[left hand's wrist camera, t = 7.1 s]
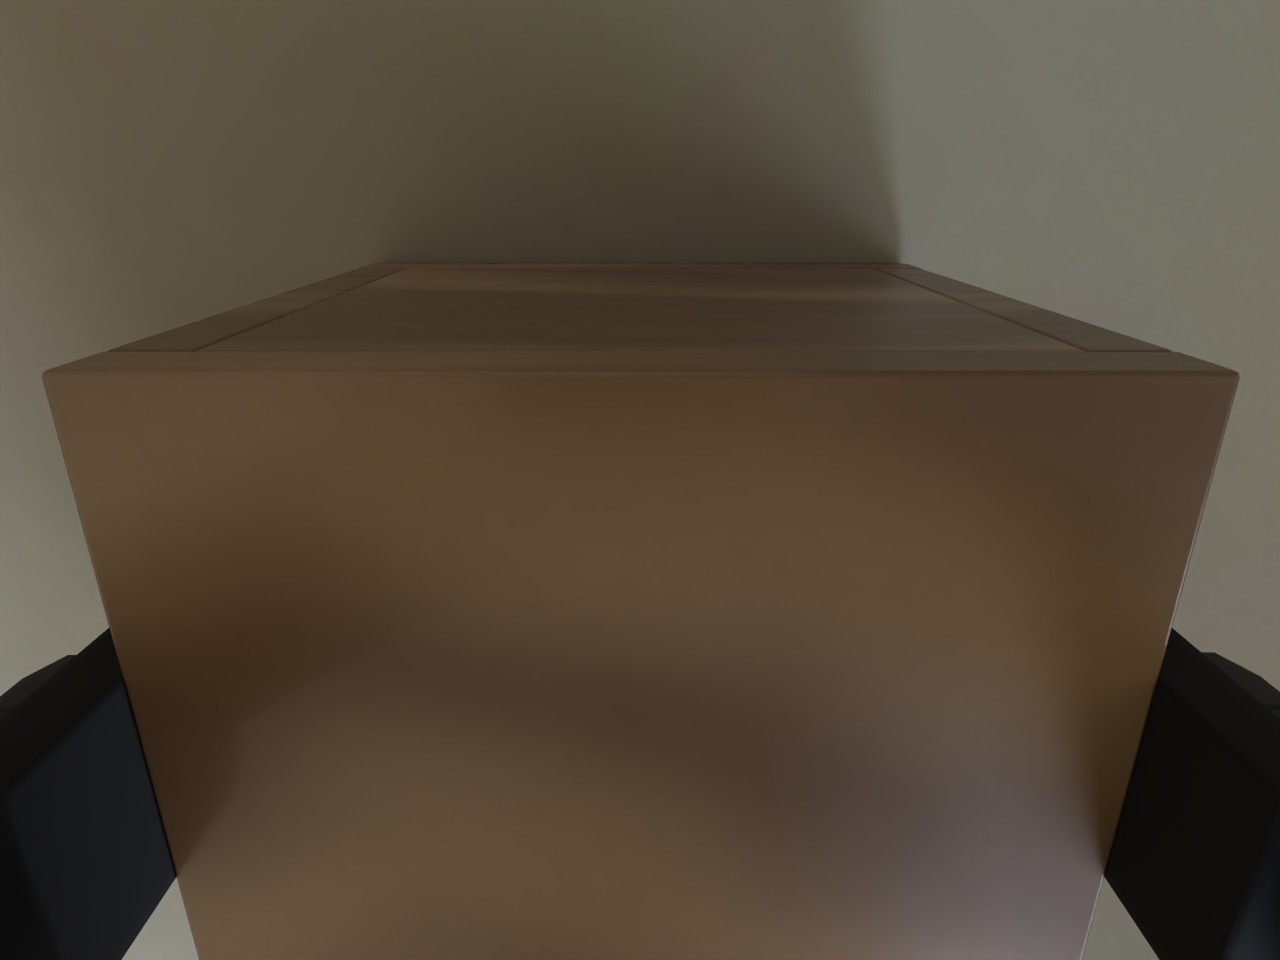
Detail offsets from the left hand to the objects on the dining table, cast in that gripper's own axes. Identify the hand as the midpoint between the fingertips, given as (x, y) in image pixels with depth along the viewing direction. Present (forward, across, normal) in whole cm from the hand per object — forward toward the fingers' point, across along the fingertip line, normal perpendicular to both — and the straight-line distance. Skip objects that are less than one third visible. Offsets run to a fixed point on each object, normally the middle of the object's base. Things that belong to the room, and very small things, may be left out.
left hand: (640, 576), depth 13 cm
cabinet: (+5, 0, -5) cm, 7 cm away
